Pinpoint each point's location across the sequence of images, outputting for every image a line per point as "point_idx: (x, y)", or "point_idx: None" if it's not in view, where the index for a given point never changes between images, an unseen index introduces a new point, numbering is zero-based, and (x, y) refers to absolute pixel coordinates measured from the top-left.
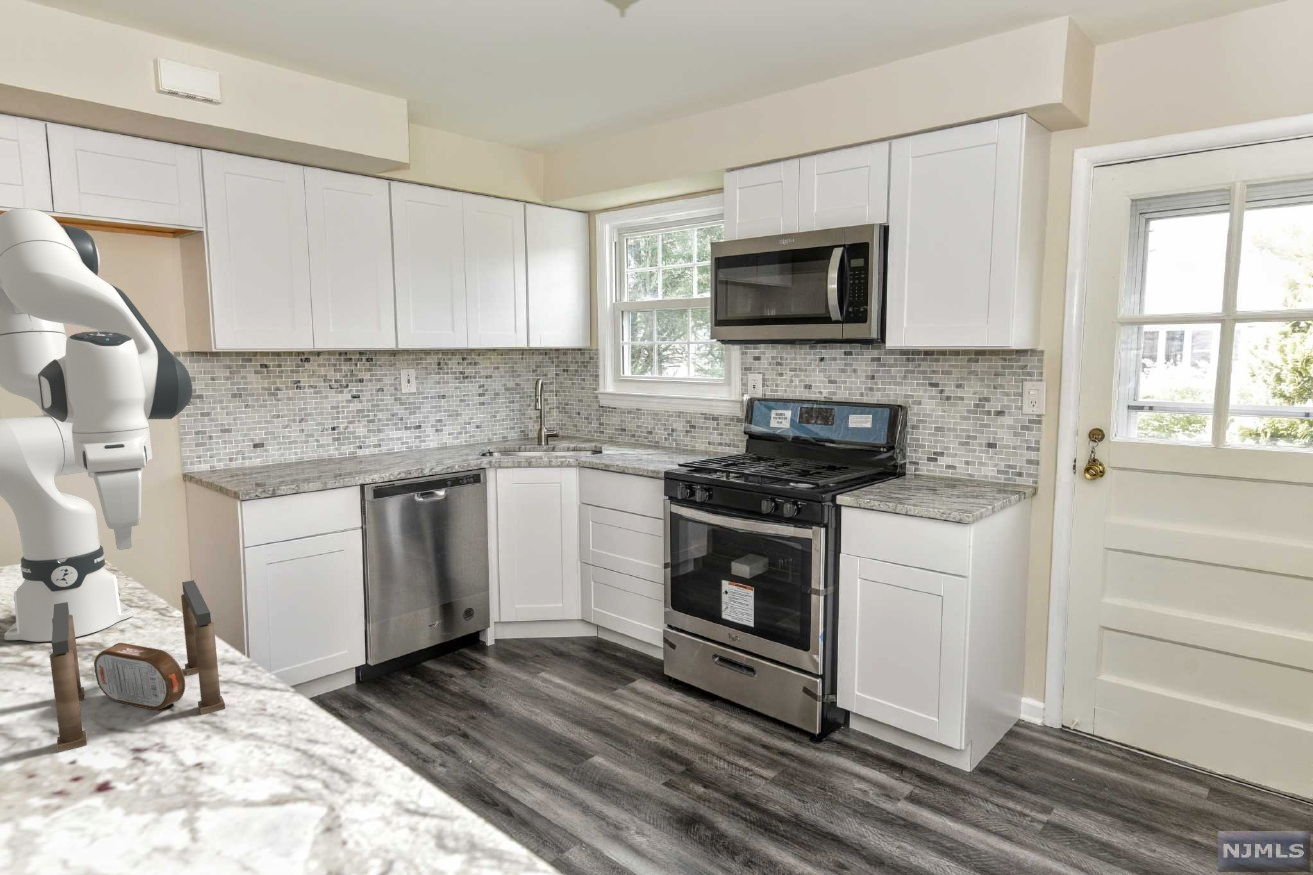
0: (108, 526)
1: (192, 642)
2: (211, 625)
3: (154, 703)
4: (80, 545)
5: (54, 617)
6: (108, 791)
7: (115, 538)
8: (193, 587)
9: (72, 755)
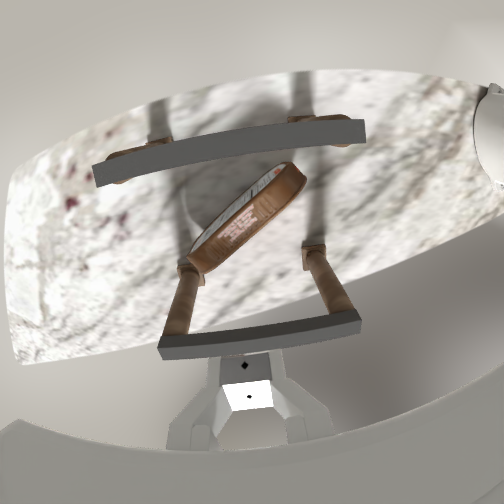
0: (13, 422)
1: (314, 274)
2: None
3: (213, 224)
4: None
5: (260, 128)
6: (64, 207)
7: (258, 372)
8: (316, 338)
9: None
